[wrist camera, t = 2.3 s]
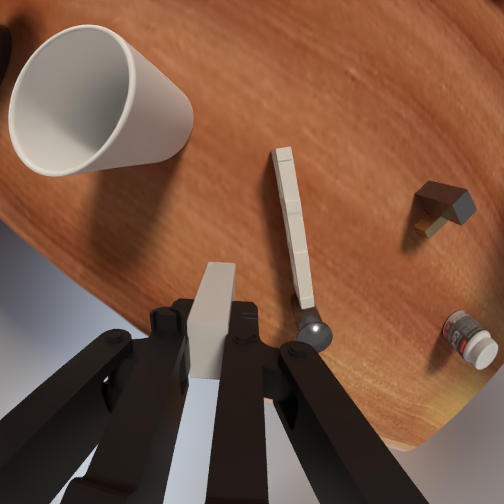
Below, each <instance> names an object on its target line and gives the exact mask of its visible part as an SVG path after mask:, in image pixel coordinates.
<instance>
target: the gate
mask: <svg viewBox="0 0 504 504" xmlns="http://www.w3.org/2000/svg"><path fill="white" fill-rule="evenodd" d="M271 154H272V160H273V163H274V168H275V173H276V179H277V184H278V190H279V198H280V204H281V207H282V213H283V218H284V224H285V230H286V236H287V238H286V239H287V245H288V249H289V255H290V261H291V268H292V274H293V283H294V288H295V291H296V294H297V297H298V300H299V303H300V306H301V309H306V308H311V307H315V305H314V297H313V289H312V281H311V273H310V266H309V257H308V251H307V244H306V237H305V230H304V223H303V217H302V209H301V203H300V198H299V191H298V185H297V180H296V174H295V168H294V162H293V156H292V150H291V147H285V148H279V149H274V150H271Z"/></svg>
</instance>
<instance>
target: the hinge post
mask: <svg viewBox="0 0 504 504" xmlns="http://www.w3.org/2000/svg"><path fill="white" fill-rule="evenodd" d="M314 305H315V303H314ZM291 306H292V310H293V313H294V317H295V321H296V324H297V328H298V333H297V336H296V341H301V342H305V343H307V344H310V345H311V346H312V347H313V348H314V349H315V350H316V351H317V353H319V352H321V351H323V350H325V349H326V348H327V347H328V346H329V345H330V344H331V342H332V338H333V335H332V331H331V329H330V327H329V326H328V325H327V324H325V323H323V322H322V319H321V317H320V315H319V312H318V310H317V308H316V305H315V307H311V308H306V309H301V306H300V303H299V300H298V297H297V294H296V293H295V294H294V295H293V296H292V298H291Z"/></svg>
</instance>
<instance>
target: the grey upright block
mask: <svg viewBox="0 0 504 504" xmlns="http://www.w3.org/2000/svg"><path fill="white" fill-rule="evenodd" d="M415 194H416V196H417V198H418V200H419V201H420V203H421V205H422V207H423V209H424V210H425V211H427V212H428V213H427V214H426V215H425V216H424V217H422V218H421V219H420V220H419V221H418V222H417V223H416V224H415V225H414V228H415V230H416V231H417V233H419V234H420V235H422V236H424V237H426V238H428V239H429V238H430V237H432V236H433V235H434V234H435V233H436V232H437V231H438V230H439V229H440V228H441V227H442V226H443V225H444V224H445V223H446V222H447V221H448V220H449V221H451V222H454V223H456V224H459V225H461V226H462V225H463V224H464V223H465V222H466V221H467V220H468V219H469V218H470V217H471V216H472V215H473V214H474V213H475V211H476V208H475V205H474V203H473V201H472V198H471V196H470V194H469V192H468V190H467V189H463V188H459V187H455V186H450V185H446V184H442V183H437V182H433V181H428V182H427V183H426V184H425V185H424V186H423V187H422V188H420V189H419V190H418V191H417V192H416V193H415Z"/></svg>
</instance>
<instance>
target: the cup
mask: <svg viewBox="0 0 504 504" xmlns="http://www.w3.org/2000/svg"><path fill="white" fill-rule="evenodd" d="M193 121H194V116H193V109H192V106H191V103H190V101H189V100H188V98H187V96H186V95H185V94H184V93H183V92H182V91H181V90H180V89H179V88H178V87H177V86H176V85H174V84H173V83H172V82H171V81H170V80H169V79H168V78H167V77H166V76H165V75H164V74H162V73H161V72H160V71H159V70H158V69H157V68H156V67H155V66H154V65H152V64H151V63H150V62H149V61H148V60H147V59H146V58H145V57H143V56H142V55H141V54H140V53H139V52H138V51H137V50H135V49H134V48H133V47H132V46H131V45H130V44H128V43H127V42H126V41H125V40H124V39H122V38H121V37H120V36H119V35H118V34H116V33H114V32H113V31H111V30H109V29H107V28H104V27H101V26H97V25H80V26H75V27H71V28H68V29H66V30H64V31H61V32H60V33H58V34H56V35H54V36H53V37H51V38H50V39H48V40H47V41H46V42H45V43H44V44H42V45H41V46H40V47H39V48H38V49H37V50H36V51H35V52H34V54H33V55H32V56H31V57H30V58H29V60H28V61H27V63H26V64H25V66H24V67H23V69H22V71H21V72H20V74H19V76H18V79H17V81H16V83H15V86H14V89H13V92H12V95H11V100H10V105H9V115H8V123H9V132H10V137H11V141H12V144H13V147H14V149H15V151H16V153H17V155H18V156H19V158H20V159H21V160H22V162H23V163H24V164H25V165H26V166H27V167H29V168H30V169H31V170H33V171H35V172H37V173H39V174H42V175H46V176H59V177H60V176H68V175H74V174H80V173H86V172H92V171H98V170H104V169H111V168H118V167H125V166H133V165H141V164H150V163H157V162H161V161H164V160H167V159H169V158H171V157H172V156H174V155H175V154H176V153H178V152H179V151H180V150H181V149H182V148H183V147H184V145H185V144H186V142H187V141H188V139H189V137H190V135H191V132H192V128H193Z"/></svg>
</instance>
